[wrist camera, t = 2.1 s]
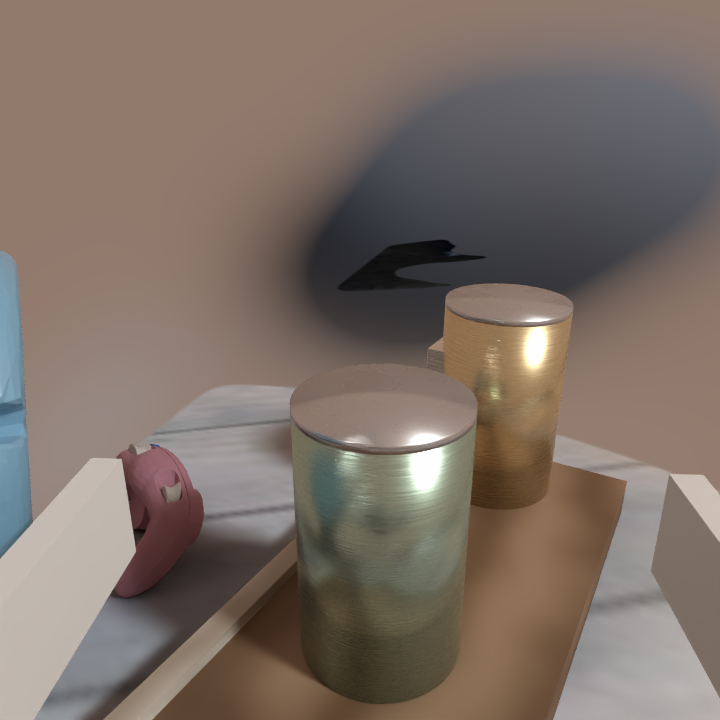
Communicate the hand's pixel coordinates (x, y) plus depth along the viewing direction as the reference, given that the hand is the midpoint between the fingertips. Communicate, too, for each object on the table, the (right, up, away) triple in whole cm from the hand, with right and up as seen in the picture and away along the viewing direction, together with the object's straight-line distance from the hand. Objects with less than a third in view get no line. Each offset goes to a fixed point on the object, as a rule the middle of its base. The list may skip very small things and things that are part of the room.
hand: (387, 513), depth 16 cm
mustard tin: (+8, -4, +28) cm, 29 cm away
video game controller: (-14, -8, +25) cm, 30 cm away
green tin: (0, -9, +15) cm, 18 cm away
